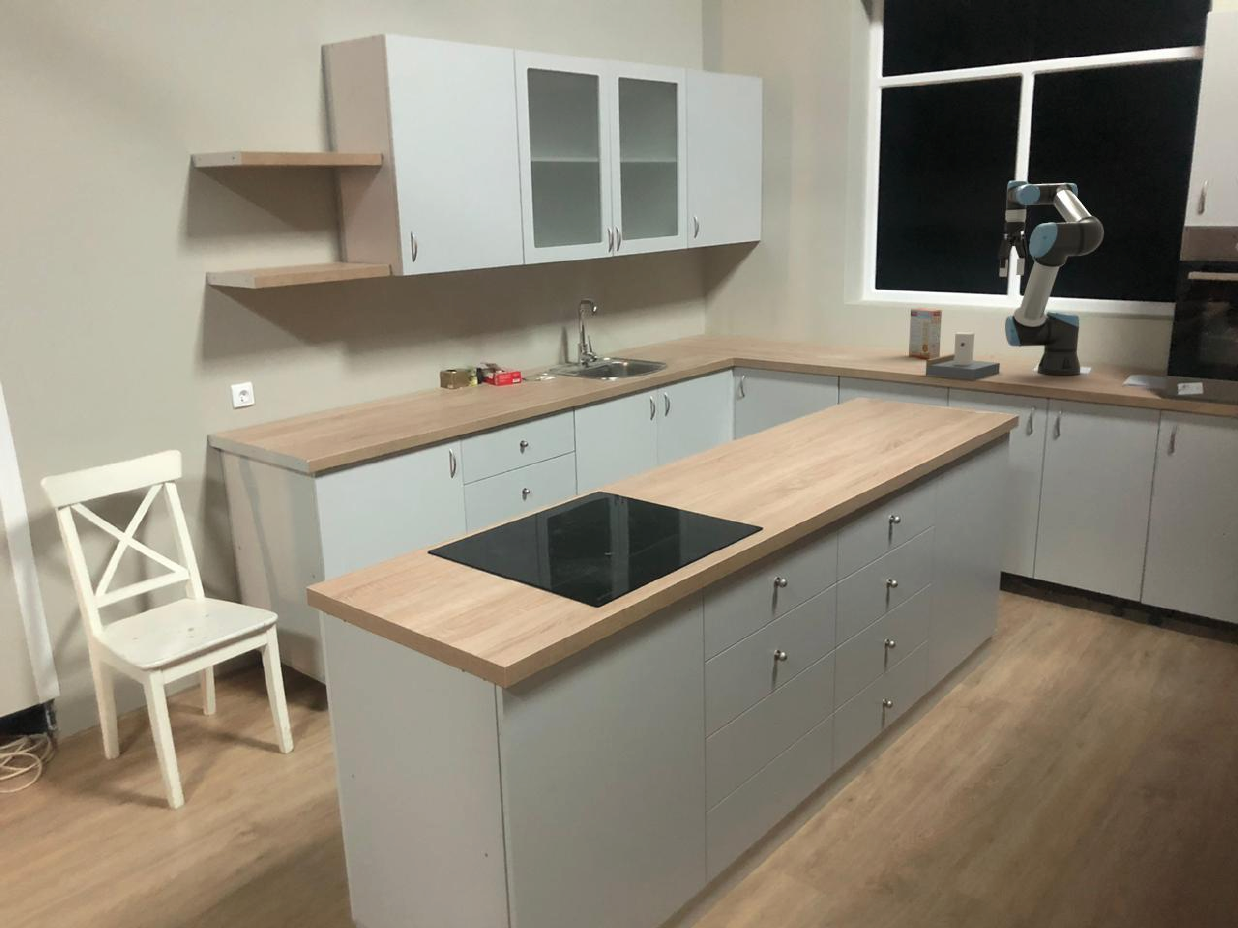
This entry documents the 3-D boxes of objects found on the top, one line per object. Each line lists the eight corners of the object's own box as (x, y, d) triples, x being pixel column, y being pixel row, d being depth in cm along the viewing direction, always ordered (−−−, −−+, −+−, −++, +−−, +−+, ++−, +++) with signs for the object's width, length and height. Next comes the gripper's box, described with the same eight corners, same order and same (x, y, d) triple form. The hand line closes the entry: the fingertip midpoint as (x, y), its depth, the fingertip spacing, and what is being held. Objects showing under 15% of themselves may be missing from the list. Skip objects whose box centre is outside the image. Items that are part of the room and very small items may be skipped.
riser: (999, 373, 383) (1000, 357, 382) (973, 380, 370) (974, 364, 369) (952, 368, 398) (953, 353, 396) (925, 374, 385) (926, 359, 383)
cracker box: (940, 358, 423) (942, 310, 418) (929, 359, 421) (931, 310, 416) (919, 354, 436) (921, 307, 431) (908, 355, 434) (910, 308, 429)
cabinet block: (972, 363, 384) (974, 332, 381) (969, 365, 378) (971, 334, 375) (956, 362, 387) (958, 332, 384) (953, 365, 381) (954, 334, 378)
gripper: (1021, 221, 398) (1017, 274, 403) (990, 221, 382) (986, 277, 387) (1039, 220, 392) (1035, 274, 397) (1008, 221, 377) (1005, 277, 381)
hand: (1011, 276), depth 392 cm, fingers open, 13 cm apart
